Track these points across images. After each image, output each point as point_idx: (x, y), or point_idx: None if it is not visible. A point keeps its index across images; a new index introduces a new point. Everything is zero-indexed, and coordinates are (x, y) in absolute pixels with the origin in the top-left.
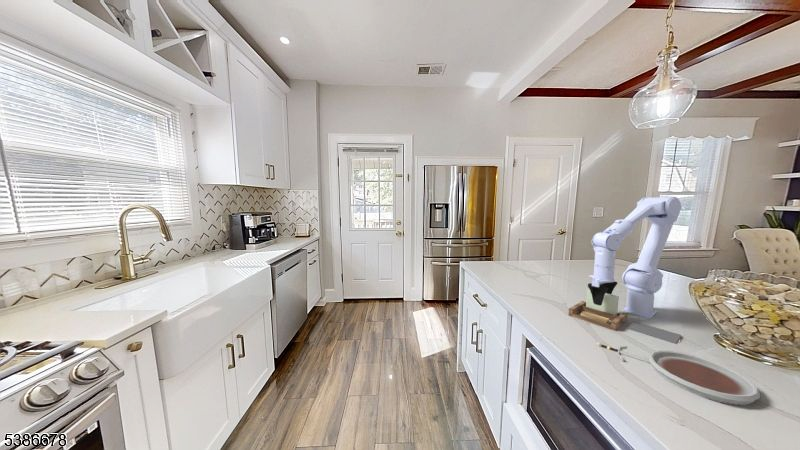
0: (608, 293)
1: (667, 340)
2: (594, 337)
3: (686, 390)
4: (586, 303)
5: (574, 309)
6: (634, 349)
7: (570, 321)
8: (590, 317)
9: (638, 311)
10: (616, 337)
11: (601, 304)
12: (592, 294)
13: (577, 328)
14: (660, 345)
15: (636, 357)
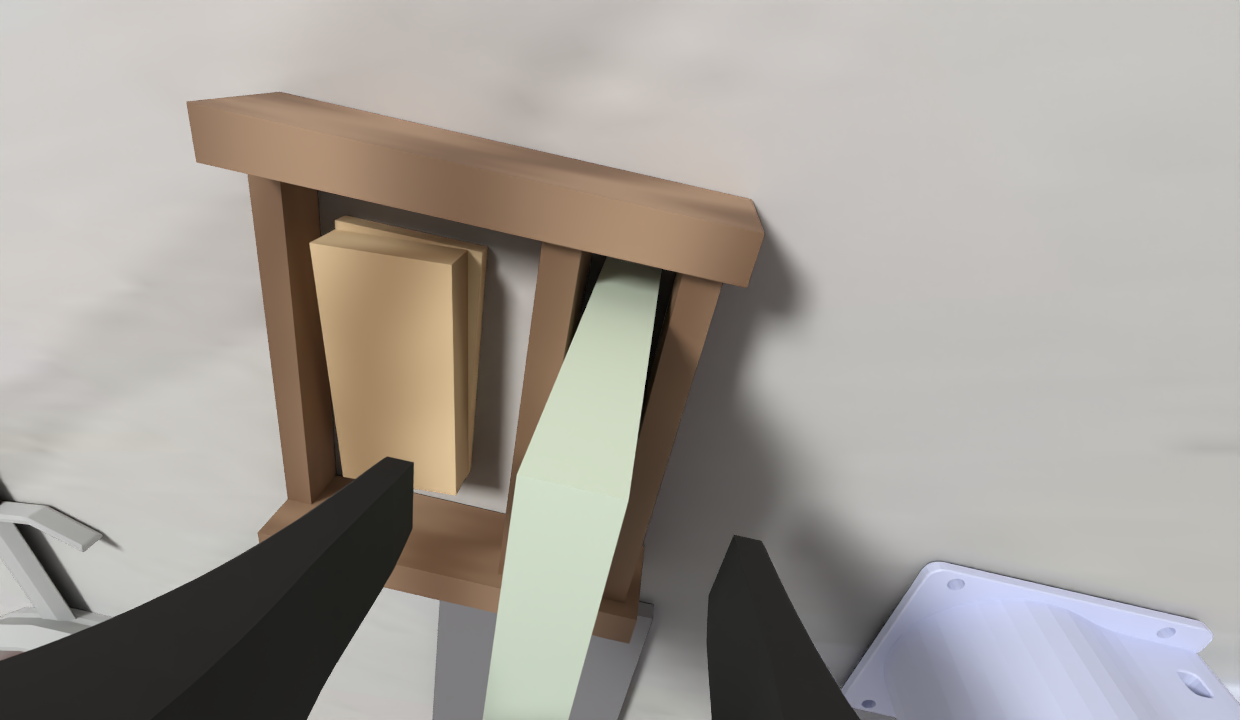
0: (719, 715)
1: (434, 708)
2: (48, 378)
3: None
4: (582, 317)
5: (279, 176)
6: (151, 566)
7: (152, 147)
8: (328, 349)
9: (893, 683)
10: (222, 497)
11: (401, 541)
12: (234, 568)
13: (60, 242)
14: (358, 665)
15: (13, 574)
